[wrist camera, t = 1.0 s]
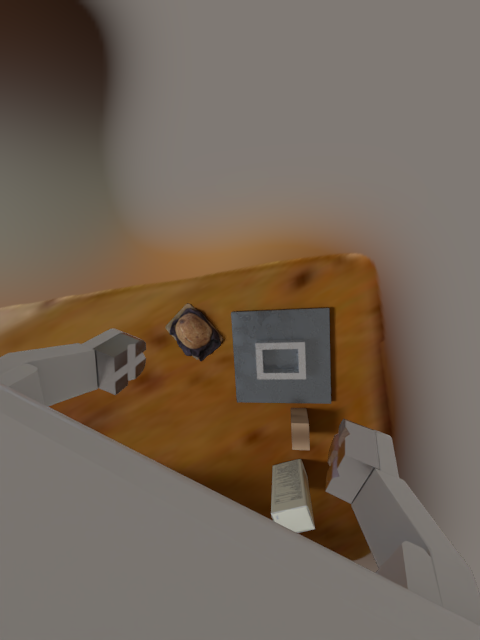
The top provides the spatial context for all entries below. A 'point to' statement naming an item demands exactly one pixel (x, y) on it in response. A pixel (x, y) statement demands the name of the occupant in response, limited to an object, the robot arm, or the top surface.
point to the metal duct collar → (282, 355)
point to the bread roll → (194, 333)
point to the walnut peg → (300, 429)
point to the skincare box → (291, 497)
